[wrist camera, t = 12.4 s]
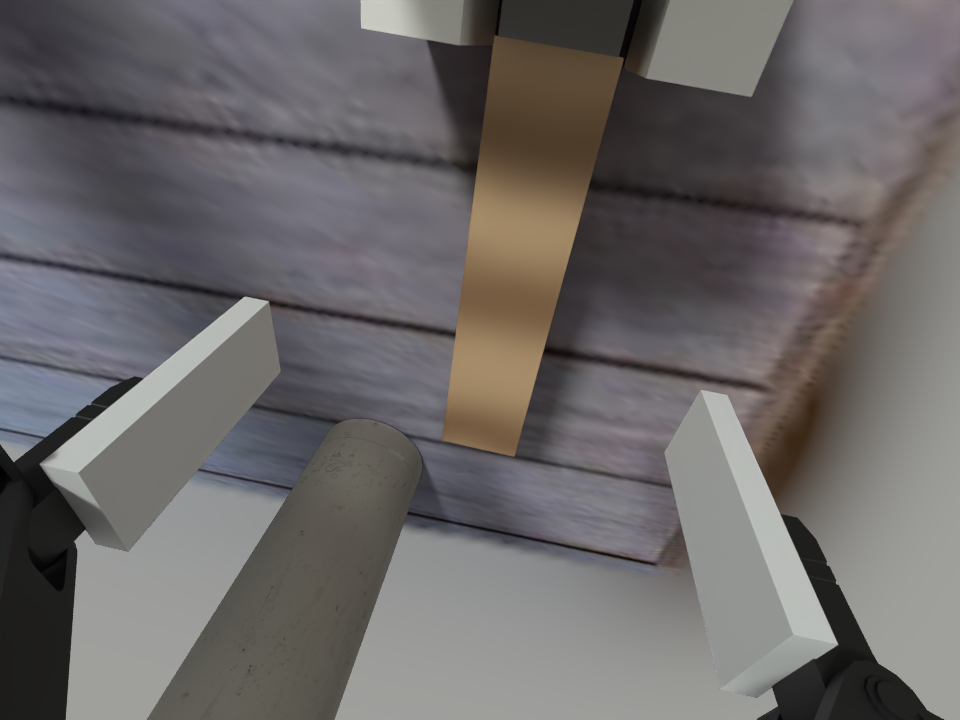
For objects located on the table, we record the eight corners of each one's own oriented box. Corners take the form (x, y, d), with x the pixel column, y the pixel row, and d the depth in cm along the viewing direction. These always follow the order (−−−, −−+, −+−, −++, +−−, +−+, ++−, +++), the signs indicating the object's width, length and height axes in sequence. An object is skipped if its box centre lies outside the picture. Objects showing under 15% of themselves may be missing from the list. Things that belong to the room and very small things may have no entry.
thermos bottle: (378, 500, 39) (104, 1142, 16) (306, 443, 36) (-149, 1123, 13) (443, 468, 35) (204, 1253, 12) (368, 401, 32) (-123, 1259, 9)
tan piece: (524, 388, 29) (512, 471, 23) (464, 374, 29) (437, 453, 23) (626, -8, 17) (653, -35, 11) (524, -25, 17) (500, -60, 12)
